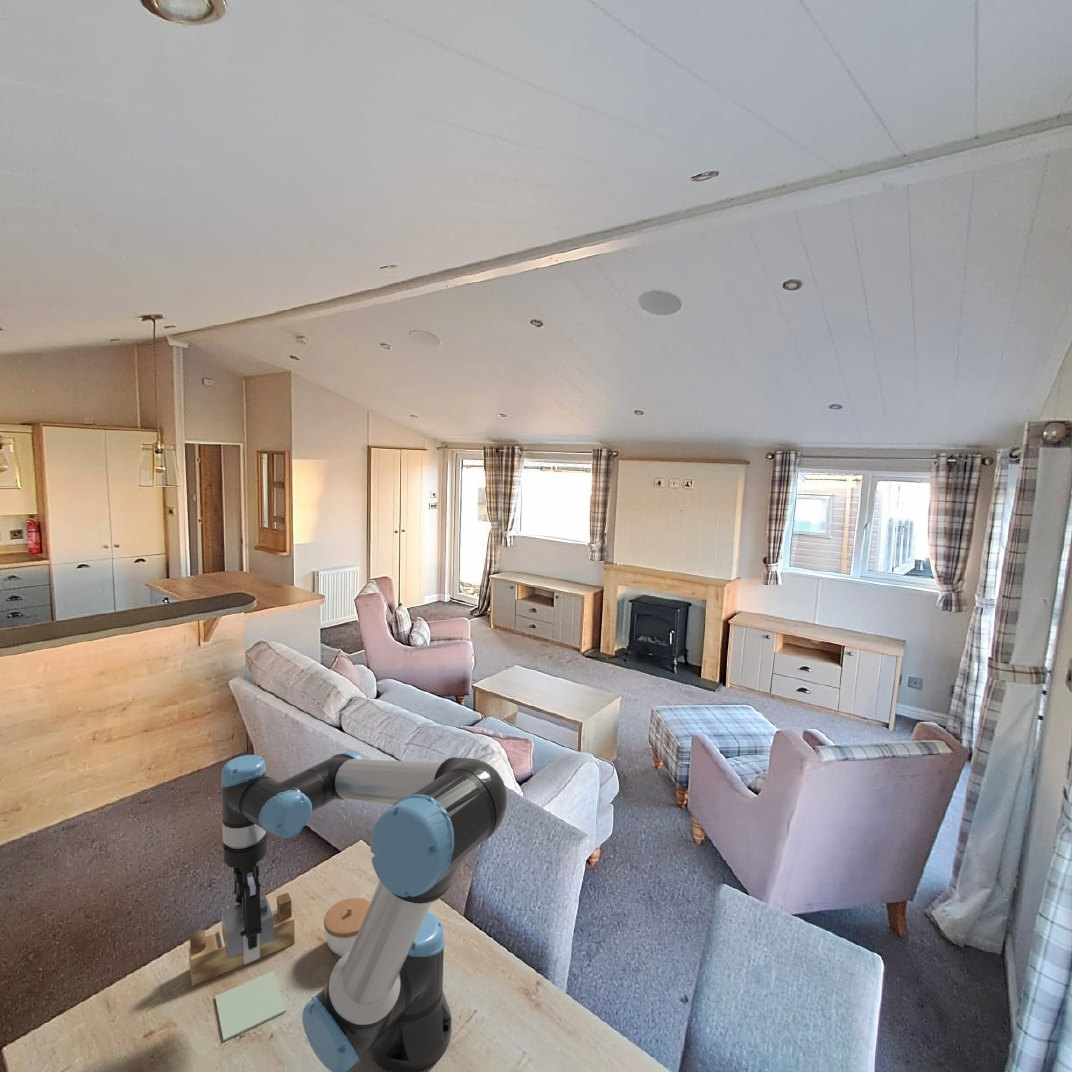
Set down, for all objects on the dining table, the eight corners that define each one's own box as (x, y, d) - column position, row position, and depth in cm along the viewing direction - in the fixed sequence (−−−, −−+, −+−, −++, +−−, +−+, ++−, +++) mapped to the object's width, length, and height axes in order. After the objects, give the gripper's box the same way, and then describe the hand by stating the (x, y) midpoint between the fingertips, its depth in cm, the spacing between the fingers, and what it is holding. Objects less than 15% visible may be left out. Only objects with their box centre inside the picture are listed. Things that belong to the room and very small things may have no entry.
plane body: (289, 929, 137) (288, 889, 136) (294, 943, 133) (293, 902, 132) (189, 969, 126) (187, 926, 125) (192, 986, 122) (190, 941, 121)
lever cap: (273, 940, 116) (272, 911, 115) (227, 958, 111) (226, 929, 110) (266, 917, 121) (265, 890, 121) (222, 934, 117) (221, 906, 116)
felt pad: (286, 1011, 117) (286, 1009, 117) (223, 1041, 110) (223, 1039, 110) (273, 972, 126) (273, 970, 126) (215, 997, 119) (215, 996, 119)
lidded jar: (381, 930, 138) (381, 893, 137) (363, 969, 127) (363, 928, 126) (337, 925, 139) (336, 888, 138) (315, 963, 128) (315, 923, 127)
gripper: (277, 859, 108) (280, 973, 111) (256, 806, 124) (258, 907, 127) (232, 874, 104) (235, 993, 106) (215, 817, 120) (219, 921, 122)
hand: (248, 946), depth 117 cm, fingers closed on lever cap, 7 cm apart
